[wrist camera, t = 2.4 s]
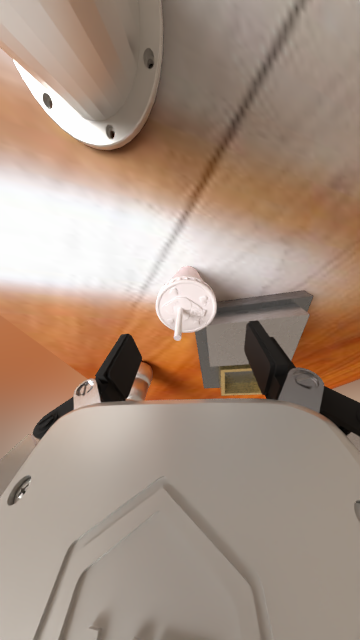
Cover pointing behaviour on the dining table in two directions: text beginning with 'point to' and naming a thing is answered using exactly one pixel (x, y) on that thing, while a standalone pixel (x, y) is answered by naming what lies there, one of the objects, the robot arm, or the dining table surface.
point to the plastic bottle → (141, 383)
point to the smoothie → (186, 302)
